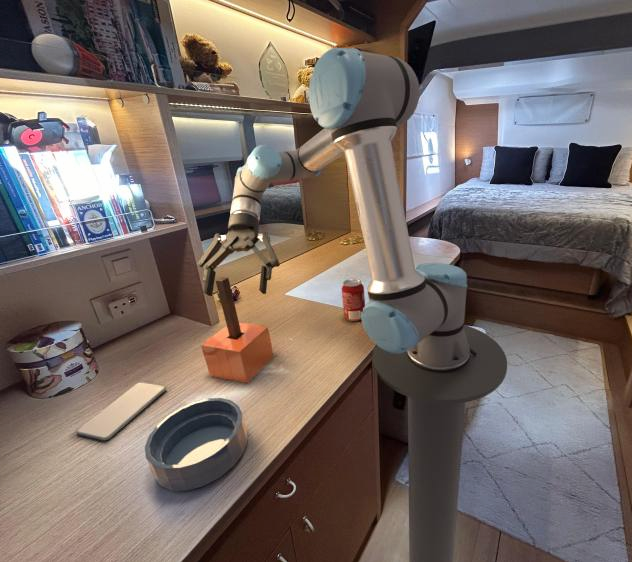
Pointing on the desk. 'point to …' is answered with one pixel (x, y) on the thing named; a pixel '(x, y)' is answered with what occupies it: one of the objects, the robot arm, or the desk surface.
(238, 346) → the orange holed cube
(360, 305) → the soda can
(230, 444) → the bowl
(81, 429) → the smartphone
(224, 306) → the stirring stick
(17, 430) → the desk surface
